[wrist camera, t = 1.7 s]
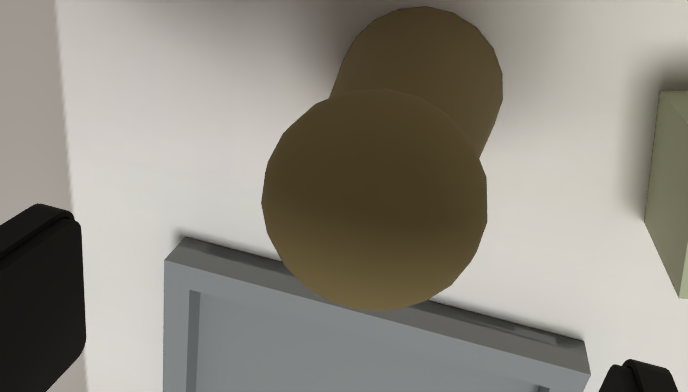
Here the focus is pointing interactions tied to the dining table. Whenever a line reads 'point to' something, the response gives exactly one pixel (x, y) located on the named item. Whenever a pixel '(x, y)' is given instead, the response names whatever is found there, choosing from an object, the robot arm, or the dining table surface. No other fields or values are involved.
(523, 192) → the dining table surface
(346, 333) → the slate tray
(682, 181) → the olive block
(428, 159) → the brown pawn
